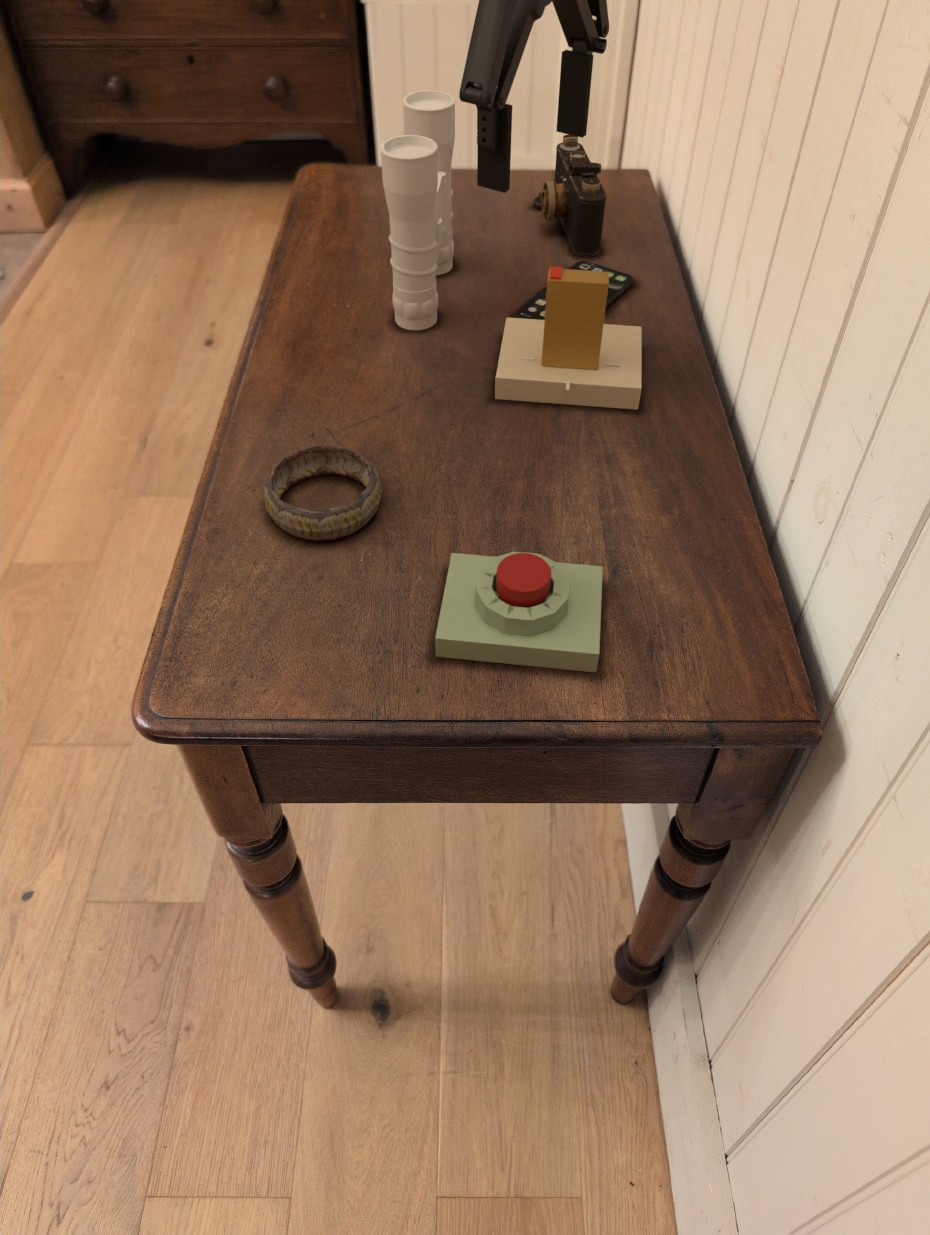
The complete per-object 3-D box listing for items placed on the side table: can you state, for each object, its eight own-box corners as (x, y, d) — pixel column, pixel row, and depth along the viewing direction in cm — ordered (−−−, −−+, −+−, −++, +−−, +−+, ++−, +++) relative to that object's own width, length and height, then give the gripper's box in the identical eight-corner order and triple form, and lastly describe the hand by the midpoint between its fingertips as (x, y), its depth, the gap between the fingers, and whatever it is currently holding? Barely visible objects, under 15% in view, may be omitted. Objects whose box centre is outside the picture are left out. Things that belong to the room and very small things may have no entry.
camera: (528, 197, 120) (532, 132, 114) (579, 195, 120) (585, 130, 114) (551, 259, 109) (556, 191, 103) (606, 256, 109) (614, 188, 103)
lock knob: (598, 357, 91) (609, 269, 84) (597, 370, 89) (609, 281, 82) (542, 353, 91) (549, 265, 84) (541, 366, 90) (547, 277, 83)
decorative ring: (391, 473, 83) (283, 464, 84) (389, 444, 80) (278, 435, 81) (371, 551, 76) (253, 541, 77) (367, 522, 74) (246, 512, 75)
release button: (551, 571, 70) (552, 555, 68) (547, 610, 67) (549, 594, 66) (498, 566, 70) (499, 550, 69) (493, 605, 67) (493, 588, 66)
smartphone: (636, 277, 105) (571, 335, 96) (636, 282, 105) (570, 340, 97) (580, 258, 108) (511, 313, 99) (579, 264, 108) (511, 319, 100)
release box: (599, 585, 74) (605, 549, 71) (596, 673, 68) (602, 638, 65) (451, 571, 75) (451, 535, 72) (435, 657, 69) (434, 621, 66)
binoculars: (436, 334, 98) (432, 159, 85) (386, 330, 99) (374, 156, 85) (459, 256, 109) (458, 91, 96) (414, 253, 110) (407, 88, 96)
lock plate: (638, 347, 96) (641, 324, 94) (638, 418, 88) (642, 395, 86) (505, 338, 98) (506, 315, 96) (493, 407, 89) (493, 384, 87)
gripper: (586, -184, 73) (565, 105, 89) (404, -129, 59) (417, 202, 75) (673, -175, 70) (635, 121, 86) (504, -115, 56) (495, 225, 72)
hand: (534, 159), depth 81 cm, fingers open, 13 cm apart
